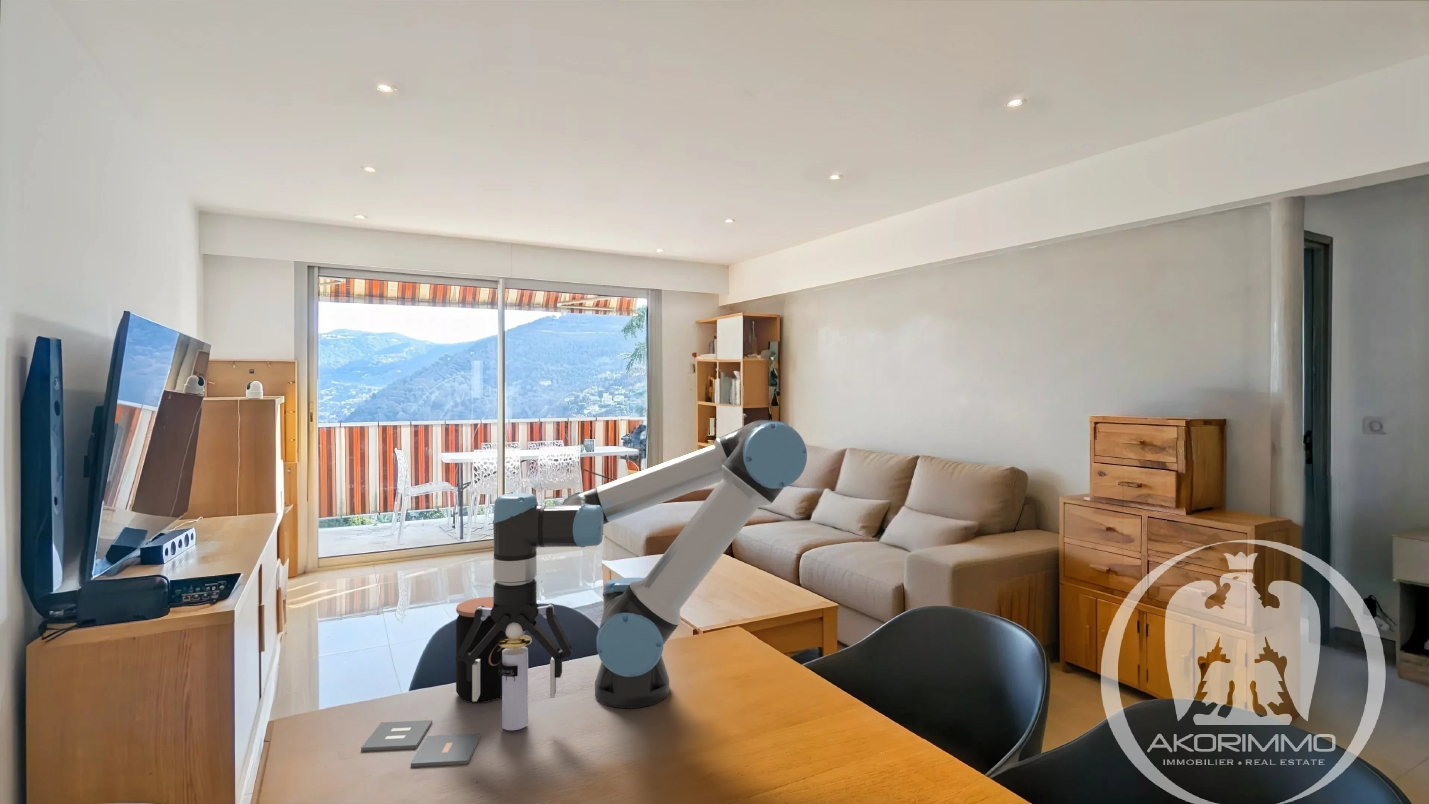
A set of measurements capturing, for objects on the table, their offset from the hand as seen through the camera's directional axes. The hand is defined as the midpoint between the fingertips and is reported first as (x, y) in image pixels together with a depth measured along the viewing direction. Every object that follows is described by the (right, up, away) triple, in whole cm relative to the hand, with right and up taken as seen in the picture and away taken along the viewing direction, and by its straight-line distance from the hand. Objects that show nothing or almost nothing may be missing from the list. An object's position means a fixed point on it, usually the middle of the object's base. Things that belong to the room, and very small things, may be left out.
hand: (514, 696), depth 124 cm
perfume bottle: (0, -6, 0) cm, 6 cm away
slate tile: (-9, -6, -8) cm, 14 cm away
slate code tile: (-20, -6, -3) cm, 21 cm away
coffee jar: (-11, -6, +15) cm, 19 cm away
